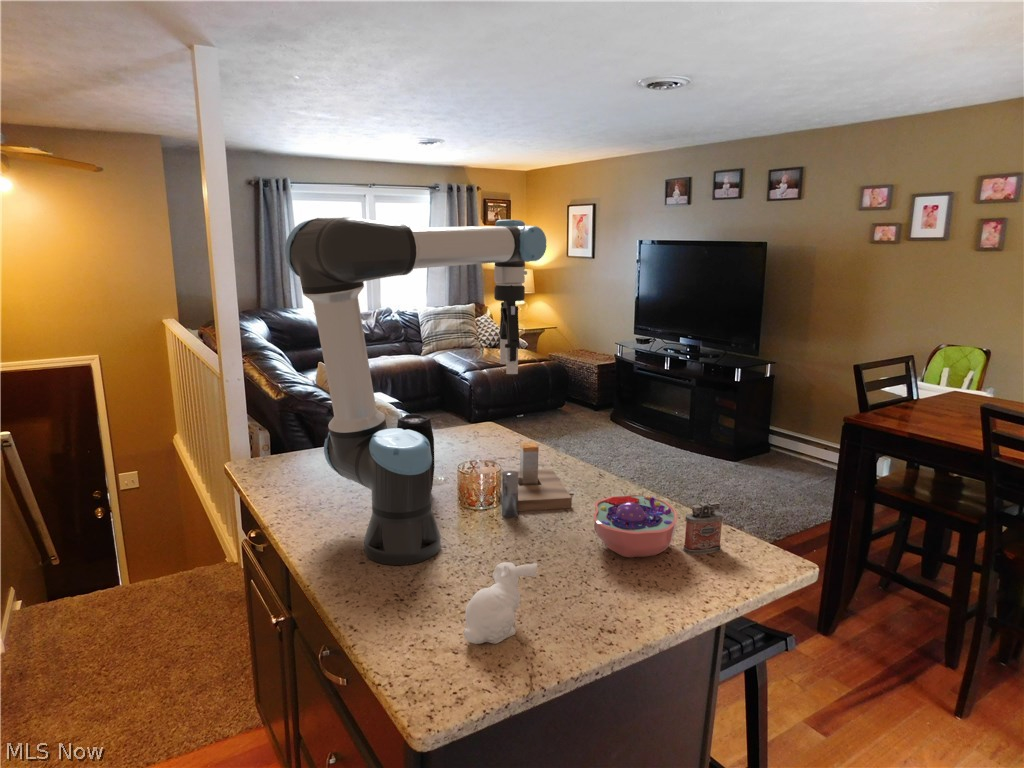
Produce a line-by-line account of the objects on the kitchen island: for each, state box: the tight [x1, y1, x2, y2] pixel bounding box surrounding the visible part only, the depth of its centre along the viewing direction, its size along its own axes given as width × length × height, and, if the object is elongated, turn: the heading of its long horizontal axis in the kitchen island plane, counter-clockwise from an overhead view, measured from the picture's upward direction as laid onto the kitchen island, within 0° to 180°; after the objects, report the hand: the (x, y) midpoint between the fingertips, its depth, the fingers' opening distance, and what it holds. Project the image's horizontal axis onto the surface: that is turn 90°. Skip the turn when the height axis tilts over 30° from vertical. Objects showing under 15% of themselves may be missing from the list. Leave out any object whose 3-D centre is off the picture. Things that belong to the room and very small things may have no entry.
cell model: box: [593, 494, 678, 558], centre depth 125 cm, size 17×20×11 cm
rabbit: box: [463, 561, 538, 645], centre depth 97 cm, size 12×9×12 cm
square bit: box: [519, 442, 540, 486], centre depth 155 cm, size 4×4×12 cm
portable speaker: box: [396, 413, 435, 492], centre depth 151 cm, size 9×9×20 cm
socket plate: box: [499, 468, 573, 512], centre depth 155 cm, size 20×16×2 cm
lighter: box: [682, 501, 724, 555], centre depth 126 cm, size 8×3×10 cm, turn 105°
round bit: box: [501, 470, 519, 519], centre depth 141 cm, size 4×4×10 cm
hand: (508, 368), depth 159 cm, fingers open, 13 cm apart
